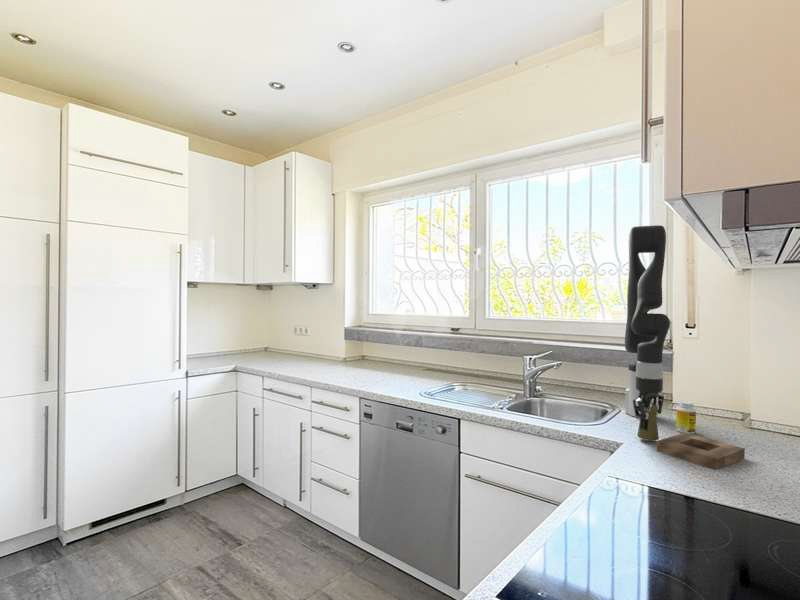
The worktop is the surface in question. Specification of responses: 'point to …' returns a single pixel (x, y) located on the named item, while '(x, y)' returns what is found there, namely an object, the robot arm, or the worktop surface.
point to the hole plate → (701, 450)
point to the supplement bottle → (686, 417)
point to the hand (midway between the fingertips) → (648, 428)
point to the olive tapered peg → (650, 425)
